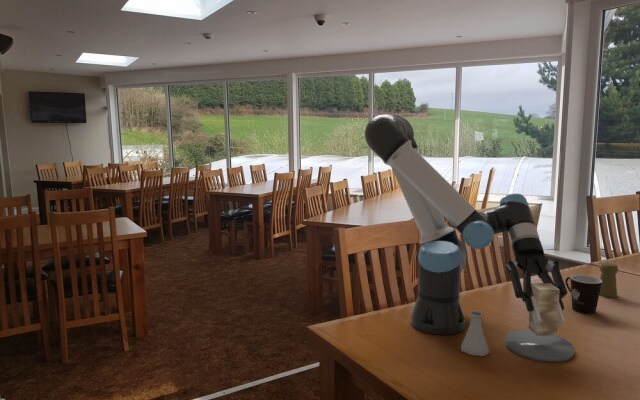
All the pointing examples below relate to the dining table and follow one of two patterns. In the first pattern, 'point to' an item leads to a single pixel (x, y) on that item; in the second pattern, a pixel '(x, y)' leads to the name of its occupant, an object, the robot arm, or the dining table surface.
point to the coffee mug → (584, 293)
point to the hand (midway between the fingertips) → (549, 322)
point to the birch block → (545, 309)
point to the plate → (539, 346)
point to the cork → (608, 280)
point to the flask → (475, 337)
